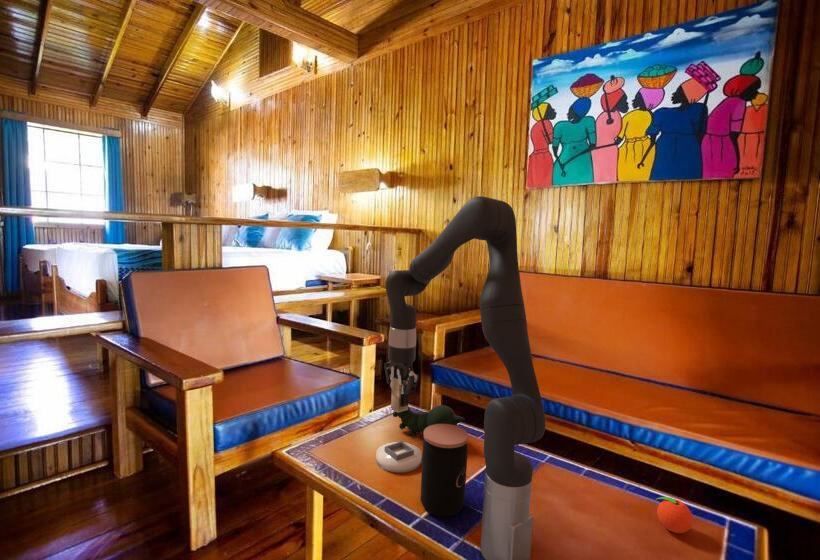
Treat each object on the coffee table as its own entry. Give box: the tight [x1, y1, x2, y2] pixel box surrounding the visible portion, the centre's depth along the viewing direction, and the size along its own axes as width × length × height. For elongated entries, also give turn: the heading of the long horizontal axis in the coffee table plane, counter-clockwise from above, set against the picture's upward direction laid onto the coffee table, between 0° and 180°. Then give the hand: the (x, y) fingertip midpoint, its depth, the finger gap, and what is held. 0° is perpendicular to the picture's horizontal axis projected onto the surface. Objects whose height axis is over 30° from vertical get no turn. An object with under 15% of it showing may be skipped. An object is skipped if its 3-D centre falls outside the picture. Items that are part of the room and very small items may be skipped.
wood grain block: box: [390, 377, 410, 413], centre depth 120 cm, size 3×3×9 cm
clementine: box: [655, 496, 694, 534], centre depth 99 cm, size 8×7×7 cm
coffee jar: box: [419, 424, 469, 518], centre depth 104 cm, size 11×11×18 cm
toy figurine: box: [392, 404, 466, 439], centre depth 138 cm, size 9×19×25 cm
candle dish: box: [375, 440, 423, 474], centre depth 124 cm, size 13×13×4 cm
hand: (399, 403), depth 120 cm, fingers closed on wood grain block, 3 cm apart
